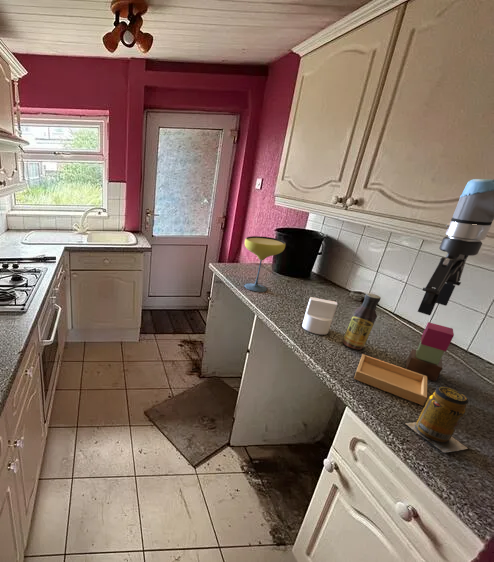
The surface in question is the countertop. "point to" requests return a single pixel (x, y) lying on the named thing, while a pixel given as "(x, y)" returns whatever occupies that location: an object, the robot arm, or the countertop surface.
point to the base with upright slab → (319, 315)
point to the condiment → (441, 419)
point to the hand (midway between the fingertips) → (432, 308)
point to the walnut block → (423, 366)
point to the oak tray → (392, 379)
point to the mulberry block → (437, 336)
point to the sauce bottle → (362, 322)
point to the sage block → (429, 354)
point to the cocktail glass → (262, 254)
